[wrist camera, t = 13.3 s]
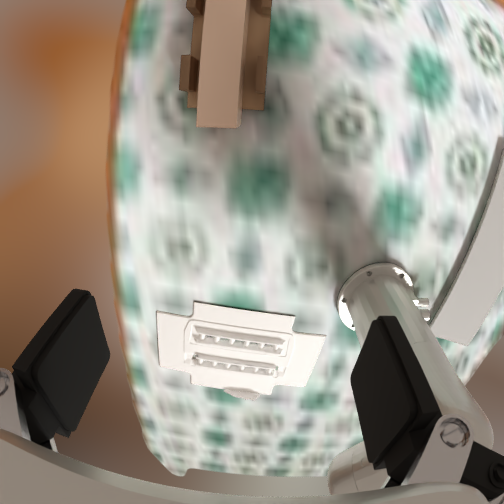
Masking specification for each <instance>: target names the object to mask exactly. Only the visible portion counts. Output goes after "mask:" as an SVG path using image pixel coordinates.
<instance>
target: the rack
mask: <svg viewBox="0 0 504 504" xmlns="http://www.w3.org/2000/svg"><path fill="white" fill-rule="evenodd" d="M205 5H206V0H187V4H186V8H187V9H188V10H189V11H190V13H191V14H192V15H193V16H194V22H193V32H192V43H191V55H181V68H180V84H179V90H182V91H187V92H188V104H187V108H197V102H198V85H199V70H200V57H201V45H202V34H203V24H204V14H205ZM271 5H272V0H251V2H250V13H249V25H248V37H247V49H246V62H245V75H244V88H243V102H242V109H251V110H264V99H265V86H266V72H267V59H268V45H269V32H270V19H271Z"/></svg>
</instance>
